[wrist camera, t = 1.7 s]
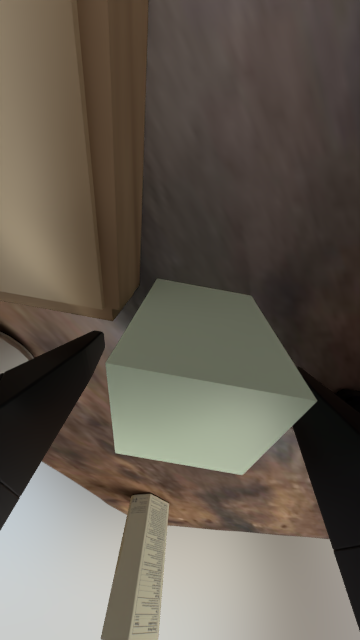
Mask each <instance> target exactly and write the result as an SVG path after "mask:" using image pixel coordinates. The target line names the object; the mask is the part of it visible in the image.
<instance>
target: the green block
mask: <svg viewBox="0 0 360 640" xmlns="http://www.w3.org/2000/svg"><path fill="white" fill-rule="evenodd" d="M106 372H107V381H108V390H109V399H110V408H111V417H112V426H113V436H114V445H115V453H118V454H124V455H130V456H136V457H141V458H147V459H153V460H159V461H164V462H170V463H176V464H182V465H187V466H193V467H199V468H205V469H210V470H216V471H222V472H228V473H233V474H239V475H243V474H244V473H245V472H246V471H247V470H248V469H249V468H250V467H251V466H252V465H253V464H254V463H255V462H256V461H257V460H258V459H259V458H260V457H261V456H262V455H263V454H264V453H265V452H266V451H267V450H268V449H269V448H270V447H271V446H272V445H273V444H274V443H275V442H276V441H277V440H278V439H279V438H280V437H281V436H282V435H283V434H284V433H285V432H287V431H288V430H289V429H290V428H291V427H292V426H293V425H294V424H295V423H296V422H297V421H298V420H299V419H300V418H301V417H302V416H303V415H304V414H305V413H306V412H307V411H308V410H309V409H310V408H311V407H312V406H313V405H314V404H315V403H316V402H317V400H316V398H315V396H314V395H313V393H312V392H311V390H310V388H309V387H308V385H307V384H306V382H305V380H304V379H303V377H302V376H301V374H300V373H299V371H298V369H297V368H296V366H295V365H294V363H293V361H292V360H291V358H290V357H289V355H288V353H287V352H286V350H285V349H284V347H283V345H282V344H281V342H280V341H279V339H278V337H277V336H276V334H275V333H274V331H273V330H272V328H271V326H270V325H269V323H268V322H267V320H266V318H265V317H264V315H263V314H262V312H261V310H260V309H259V307H258V306H257V304H256V302H255V301H254V299H253V298H252V296H251V295H245V294H240V293H234V292H229V291H223V290H218V289H212V288H207V287H201V286H196V285H190V284H185V283H180V282H174V281H169V280H163V279H158V278H157V279H156V281H155V283H154V284H153V286H152V288H151V289H150V291H149V293H148V294H147V296H146V298H145V299H144V301H143V302H142V304H141V306H140V307H139V309H138V311H137V312H136V314H135V316H134V317H133V319H132V321H131V322H130V324H129V325H128V327H127V329H126V330H125V332H124V334H123V335H122V337H121V339H120V340H119V342H118V344H117V345H116V347H115V348H114V350H113V352H112V353H111V355H110V357H109V358H108V360H107V362H106Z"/></svg>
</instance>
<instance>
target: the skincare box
mask: <svg viewBox="0 0 360 640" xmlns="http://www.w3.org/2000/svg"><path fill="white" fill-rule="evenodd" d="M168 511H169V503H167V502H165V501H164V500H161V499H160V498H158V497H156V496H154V495H152V494H137V495H132V496H131V500H130V505H129V509H128V514H127V519H126V524H125V528H124V533H123V537H122V542H121V547H120V551H119V556H118V561H117V565H116V570H115V575H114V579H113V584H112V589H111V593H110V598H109V603H108V607H107V612H106V617H105V621H104V626H103V631H102V635H101V639H102V640H158V635H159V622H160V609H161V597H162V585H163V572H164V560H165V547H166V535H167V523H168Z"/></svg>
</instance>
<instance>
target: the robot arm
mask: <svg viewBox="0 0 360 640" xmlns="http://www.w3.org/2000/svg"><path fill="white" fill-rule="evenodd" d="M104 348H105V341H104V333H103V332H101V331H92V332H89V333H87V334H85V335H83V336H81V337H79V338H76V339H74V340H72V341H70V342H68V343H66V344H64V345H61V346H59V347H57V348H55V349H53V350H51V351H48V352H46V353H44V354H42V355H40V356H38V357H36V358H33V359H31V360H29V361H27V362H25V363H23V364H20V365H18V366H16V367H14V368H12V369H10V370H7V371H5V373H1V374H0V530H1V528H2V527H3V525H4V523H5V522H6V520H7V518H8V517H9V515H10V513H11V511H12V510H13V508H14V506H15V505H16V503H17V502H18V500H19V497H20V496H21V495H22V493H23V491H24V489H25V488H26V486H27V484H28V483H29V481H30V479H31V478H32V476H33V474H34V473H35V471H36V469H37V468H38V466H39V464H40V463H41V461H42V459H43V458H44V456H45V454H46V453H47V451H48V449H49V448H50V446H51V444H52V443H53V441H54V439H55V438H56V436H57V434H58V433H59V431H60V429H61V428H62V426H63V424H64V423H65V421H66V419H67V418H68V416H69V414H70V413H71V411H72V409H73V408H74V406H75V404H76V402H77V401H78V399H79V397H80V396H81V394H82V392H83V391H84V389H85V387H86V386H87V384H88V382H89V381H90V379H91V377H92V375H93V373H94V371H95V368H96V366H97V364H98V362H99V360H100V357H101V355H102V353H103V351H104ZM296 368H297V369H298V371H299V373H300V374H301V376H302V377H303V379H304V380H305V382H306V384H307V385H308V387H309V388H310V390H311V392H312V393H313V395H314V396H315V398H316V400H317V402H316V403H315V404H314V405H313V406H312V407H311V408H310V409H309V410H308V411H307V412H306V413H305V414H304V415H303V416H302V417H301V418H300V419H299V420H298V421H297V422H296V423H295V424H294V425H293V429H294V432H295V435H296V438H297V441H298V444H299V447H300V450H301V453H302V456H303V459H304V463H305V466H306V469H307V472H308V475H309V478H310V481H311V484H312V487H313V490H314V493H315V496H316V499H317V502H318V505H319V508H320V511H321V514H322V517H323V520H324V523H325V526H326V529H327V532H328V535H329V538H330V541H331V544H332V548H333V549H334V554H335V557H336V560H337V563H338V566H339V569H340V572H341V575H342V578H343V581H344V585H345V588H346V591H347V593H348V597H349V600H350V603H351V606H352V609H353V612H354V615H355V618H356V621H357V624H358V627H359V630H360V392H357V391H352V390H342V391H340V392H338V393H337V394H336V395H335V394H334V393H333V392H331V391H330V390H329V389H328V388H326V387H325V386H324V385H322V384H321V383H320V382H319V381H317V380H316V379H315V378H313V377H312V376H311V375H309V374H308V373H307V372H306V371H304V370H303V369H302V368H300V367H297V366H296Z"/></svg>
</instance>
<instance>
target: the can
mask: <svg viewBox="0 0 360 640" xmlns="http://www.w3.org/2000/svg"><path fill="white" fill-rule="evenodd" d="M31 359H33V356H32V354H31V353H30V352H29V351H28V350H27V349H26V348H25V347H24V346H23V345H21V344H20V343H19V342H17V341H16V340H14V339H13V338H11V337H10V336H8V335H6V334H4V333H2V332H0V374H1V373H5V371H7V370H10V369H12V368H14V367H16V366H18V365H20V364H23V363H25V362H27V361H29V360H31Z"/></svg>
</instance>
